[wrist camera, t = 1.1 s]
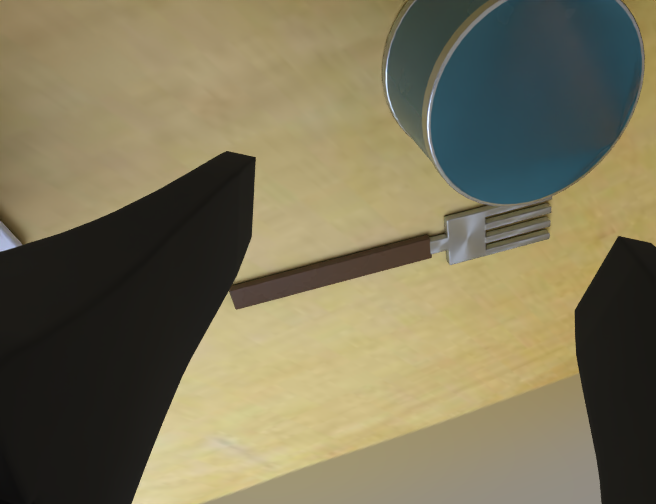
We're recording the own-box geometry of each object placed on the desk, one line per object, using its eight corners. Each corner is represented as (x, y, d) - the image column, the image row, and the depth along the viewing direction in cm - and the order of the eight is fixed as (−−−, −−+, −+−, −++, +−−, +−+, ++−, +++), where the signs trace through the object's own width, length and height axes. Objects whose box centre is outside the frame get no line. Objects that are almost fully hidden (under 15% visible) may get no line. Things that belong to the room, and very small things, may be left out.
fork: (239, 316, 26) (239, 321, 26) (224, 273, 24) (224, 279, 24) (545, 234, 27) (549, 239, 26) (548, 189, 25) (552, 193, 25)
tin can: (412, 177, 24) (458, 239, 20) (354, 12, 20) (396, 47, 16) (570, 104, 23) (650, 152, 19) (544, -79, 19) (639, -68, 15)
